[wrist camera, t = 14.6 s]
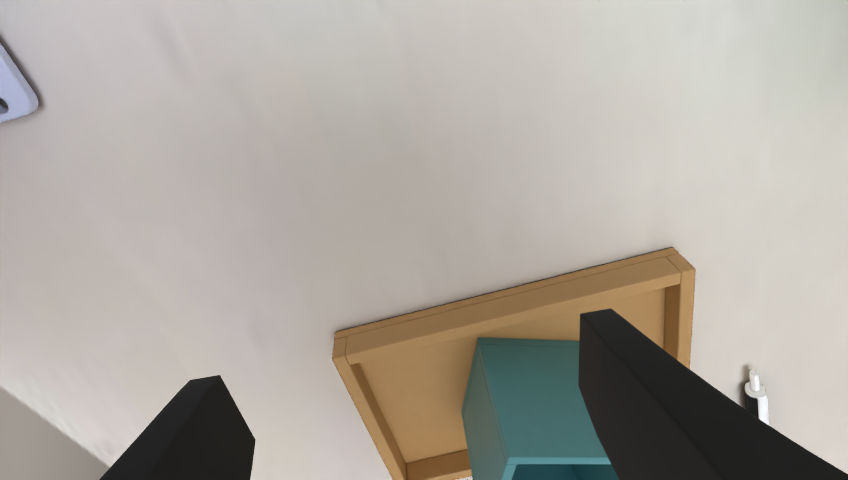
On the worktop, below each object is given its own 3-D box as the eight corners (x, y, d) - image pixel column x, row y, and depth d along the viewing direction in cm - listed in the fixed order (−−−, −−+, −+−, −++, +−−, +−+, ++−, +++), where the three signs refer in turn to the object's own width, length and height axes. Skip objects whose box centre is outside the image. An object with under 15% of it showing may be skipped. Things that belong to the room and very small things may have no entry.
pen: (756, 363, 24) (772, 379, 23) (765, 535, 33) (776, 552, 32) (739, 368, 24) (754, 385, 23) (752, 539, 33) (763, 556, 32)
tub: (460, 411, 23) (482, 537, 18) (477, 336, 21) (508, 457, 16) (555, 412, 24) (602, 535, 19) (582, 340, 21) (645, 457, 16)
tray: (398, 463, 26) (398, 492, 24) (334, 331, 21) (331, 359, 19) (668, 401, 25) (686, 428, 23) (673, 246, 20) (696, 268, 18)
